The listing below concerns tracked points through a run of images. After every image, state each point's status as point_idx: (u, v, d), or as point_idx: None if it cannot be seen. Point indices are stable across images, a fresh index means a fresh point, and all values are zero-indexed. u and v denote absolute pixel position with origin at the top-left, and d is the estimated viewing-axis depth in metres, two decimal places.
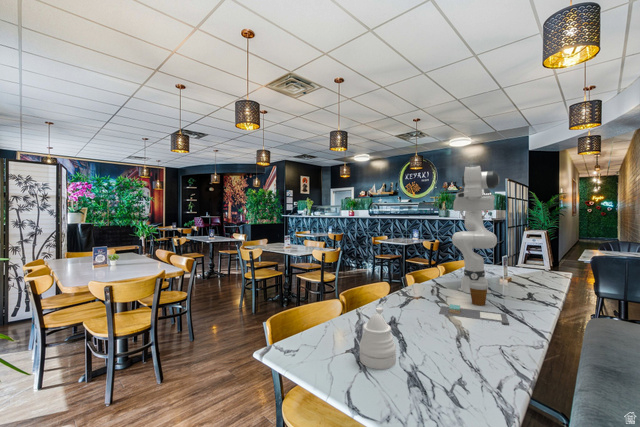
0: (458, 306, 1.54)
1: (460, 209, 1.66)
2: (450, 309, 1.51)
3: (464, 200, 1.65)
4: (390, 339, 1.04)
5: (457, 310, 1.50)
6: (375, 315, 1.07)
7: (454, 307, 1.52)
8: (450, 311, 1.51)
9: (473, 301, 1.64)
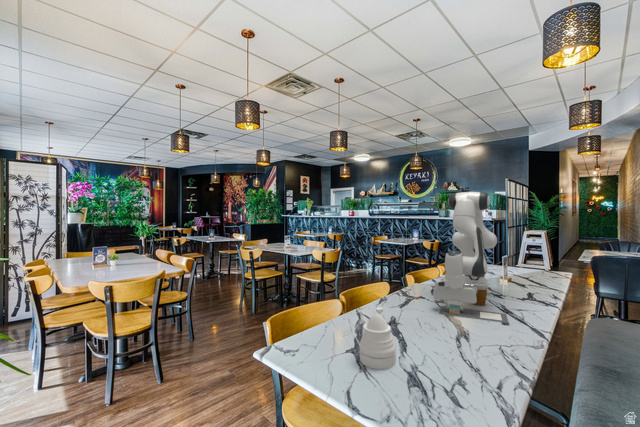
0: (458, 306, 1.54)
1: (441, 298, 1.55)
2: (450, 309, 1.51)
3: (445, 289, 1.54)
4: (390, 339, 1.04)
5: (457, 310, 1.50)
6: (375, 315, 1.07)
7: (454, 307, 1.52)
8: (450, 311, 1.51)
9: None
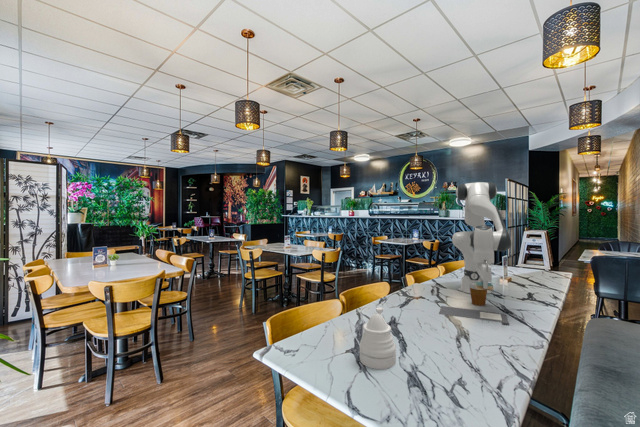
0: None
1: (478, 272, 1.54)
2: (475, 283, 1.50)
3: None
4: (390, 339, 1.04)
5: (476, 285, 1.47)
6: (375, 315, 1.07)
7: (480, 283, 1.48)
8: (475, 285, 1.50)
9: (473, 301, 1.64)
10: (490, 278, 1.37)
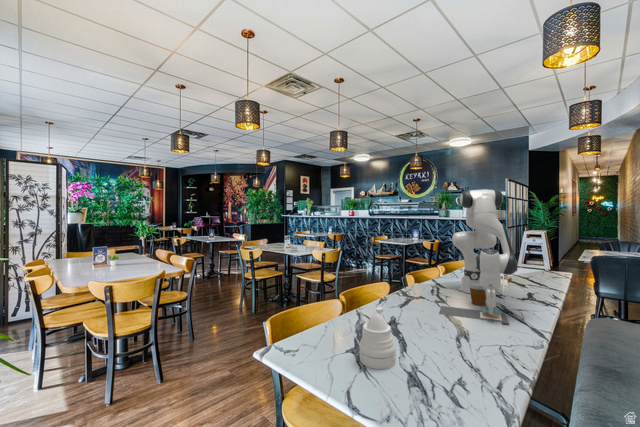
0: (493, 312, 1.44)
1: None
2: (482, 309, 1.49)
3: None
4: (390, 339, 1.04)
5: (482, 312, 1.46)
6: (375, 315, 1.07)
7: (487, 310, 1.47)
8: (482, 311, 1.49)
9: (473, 301, 1.64)
10: (494, 304, 1.37)
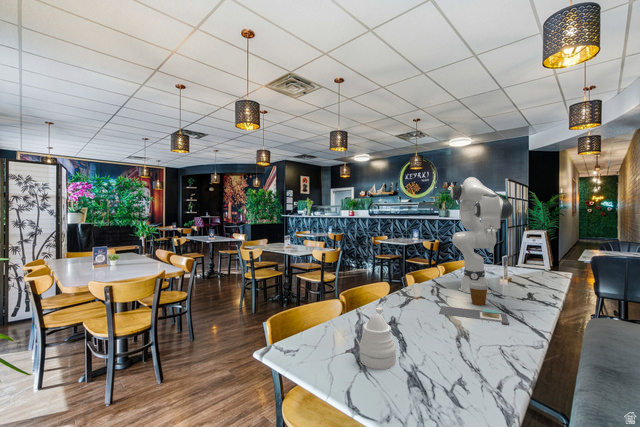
0: (493, 312, 1.44)
1: (486, 239, 1.63)
2: (482, 309, 1.49)
3: None
4: (390, 339, 1.04)
5: (482, 312, 1.46)
6: (375, 315, 1.07)
7: (487, 310, 1.47)
8: (482, 311, 1.49)
9: (473, 301, 1.64)
10: (494, 241, 1.47)
